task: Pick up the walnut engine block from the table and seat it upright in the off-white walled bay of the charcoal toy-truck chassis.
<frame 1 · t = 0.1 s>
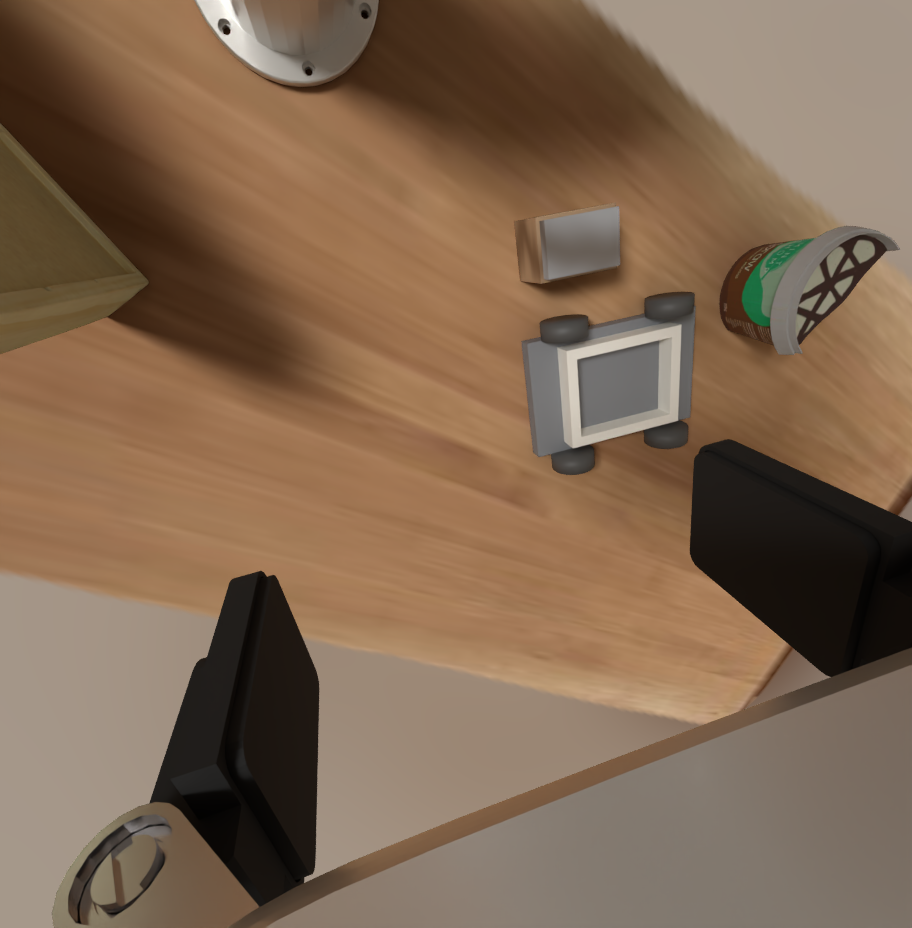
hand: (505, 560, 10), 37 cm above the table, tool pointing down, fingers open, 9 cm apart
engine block: (552, 244, 44), on the table
chassis: (607, 380, 51), on the table
food container: (743, 274, 50), on the table
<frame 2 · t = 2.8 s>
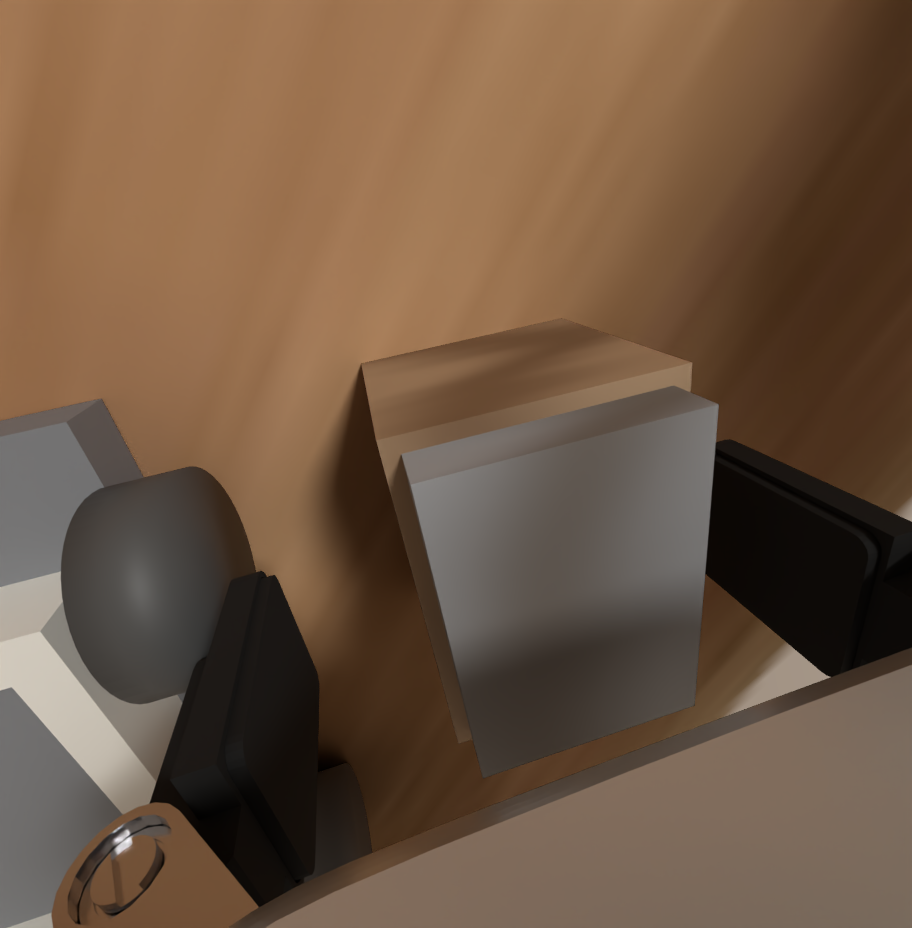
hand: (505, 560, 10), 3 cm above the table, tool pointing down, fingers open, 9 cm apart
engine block: (484, 466, 13), on the table
chassis: (37, 747, 14), on the table
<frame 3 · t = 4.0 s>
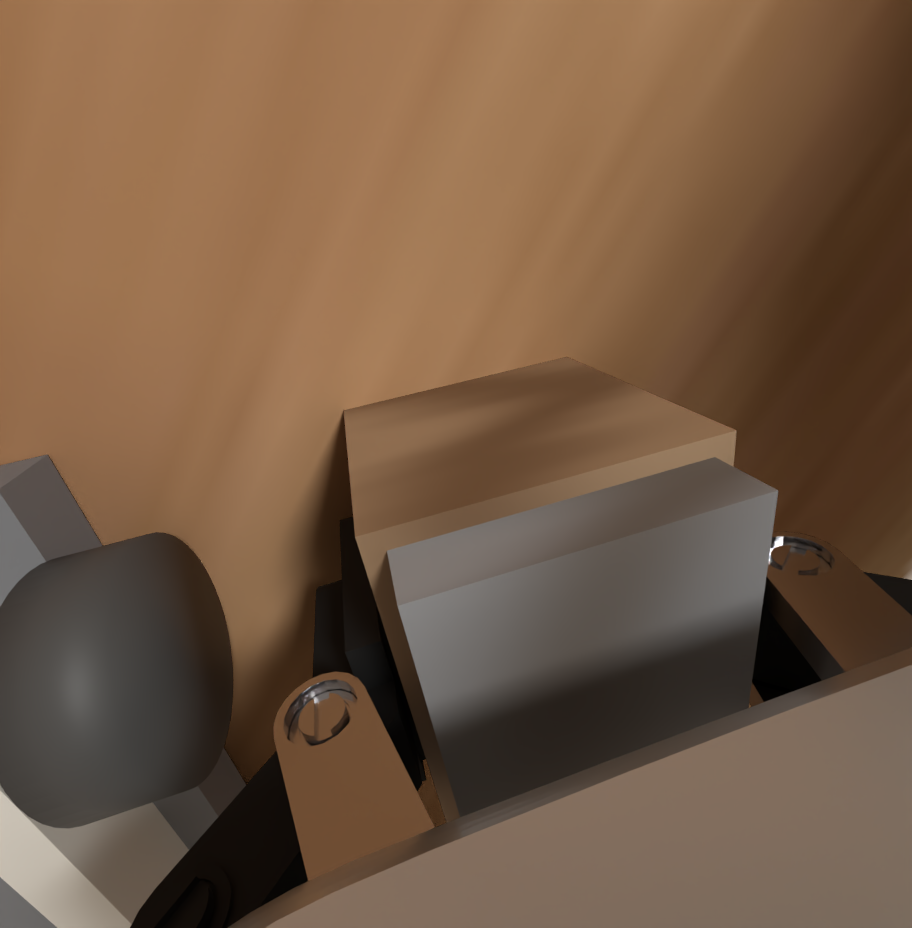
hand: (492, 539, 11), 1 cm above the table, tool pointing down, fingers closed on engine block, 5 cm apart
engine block: (482, 518, 12), on the table, touching gripper
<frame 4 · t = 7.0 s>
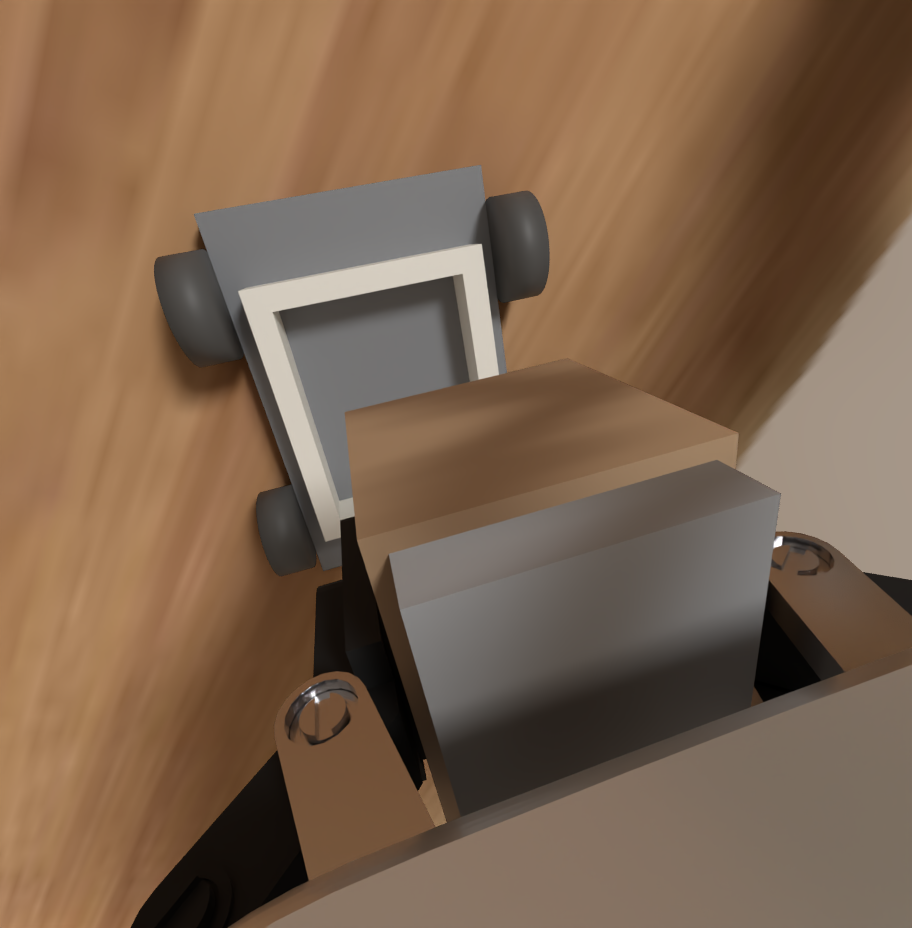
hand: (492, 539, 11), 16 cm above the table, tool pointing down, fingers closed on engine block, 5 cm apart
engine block: (483, 520, 12), point 15 cm above the table, touching gripper
chassis: (388, 386, 25), on the table
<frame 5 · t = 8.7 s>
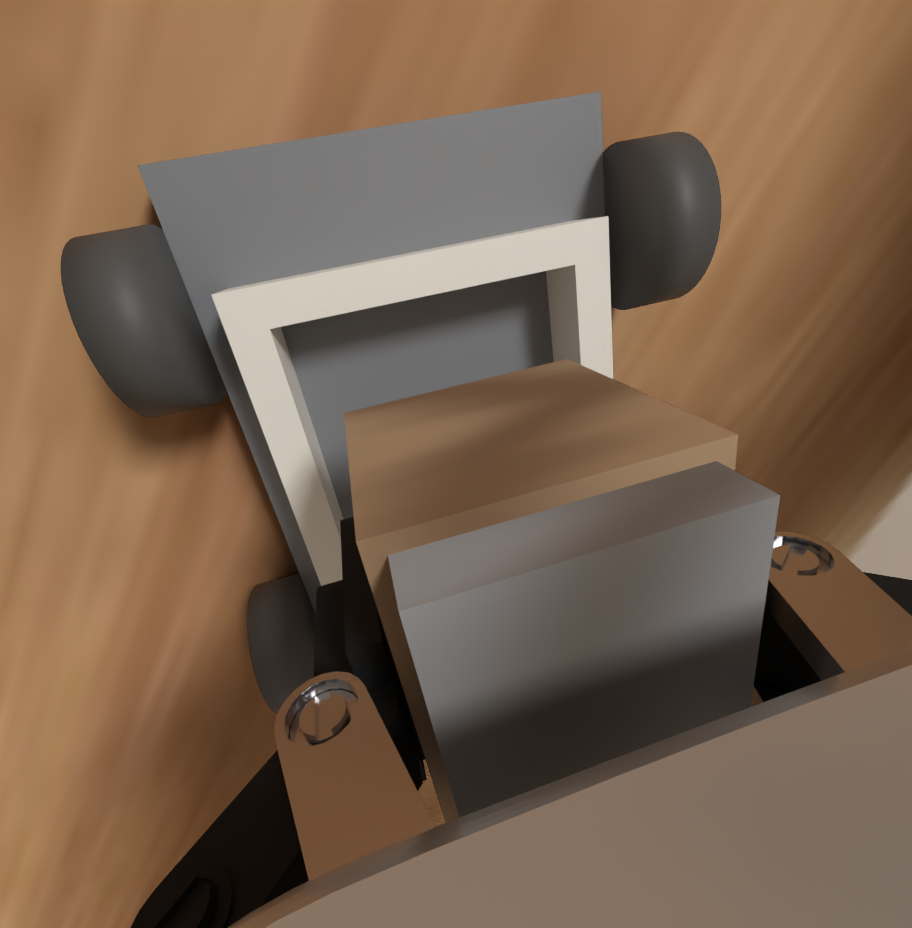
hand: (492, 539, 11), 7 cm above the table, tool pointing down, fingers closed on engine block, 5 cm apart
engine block: (483, 521, 12), point 6 cm above the table, touching gripper
chassis: (438, 430, 17), on the table
when the fingers open (4 cm above the table, at t = 10.2 s): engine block drops 1 cm, resting on chassis.
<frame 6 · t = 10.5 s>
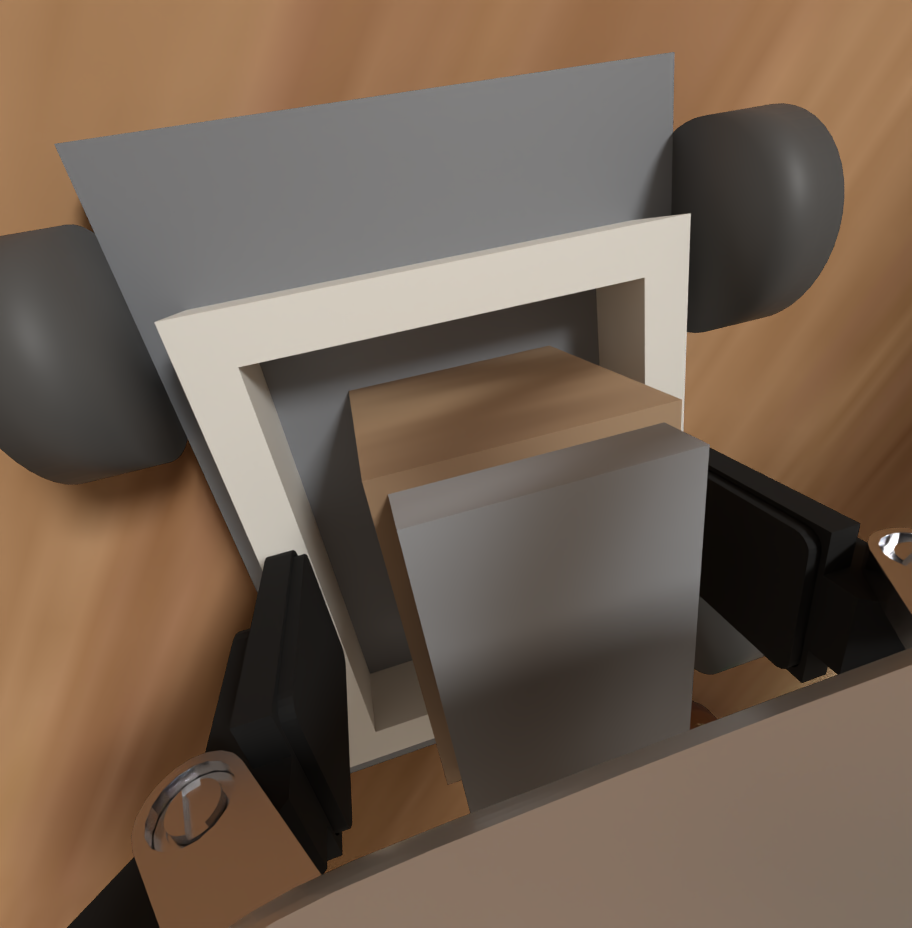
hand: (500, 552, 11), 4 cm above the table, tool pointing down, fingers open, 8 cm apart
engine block: (473, 493, 13), point 1 cm above the table, touching chassis
chassis: (455, 475, 14), on the table
food container: (669, 728, 22), on the table
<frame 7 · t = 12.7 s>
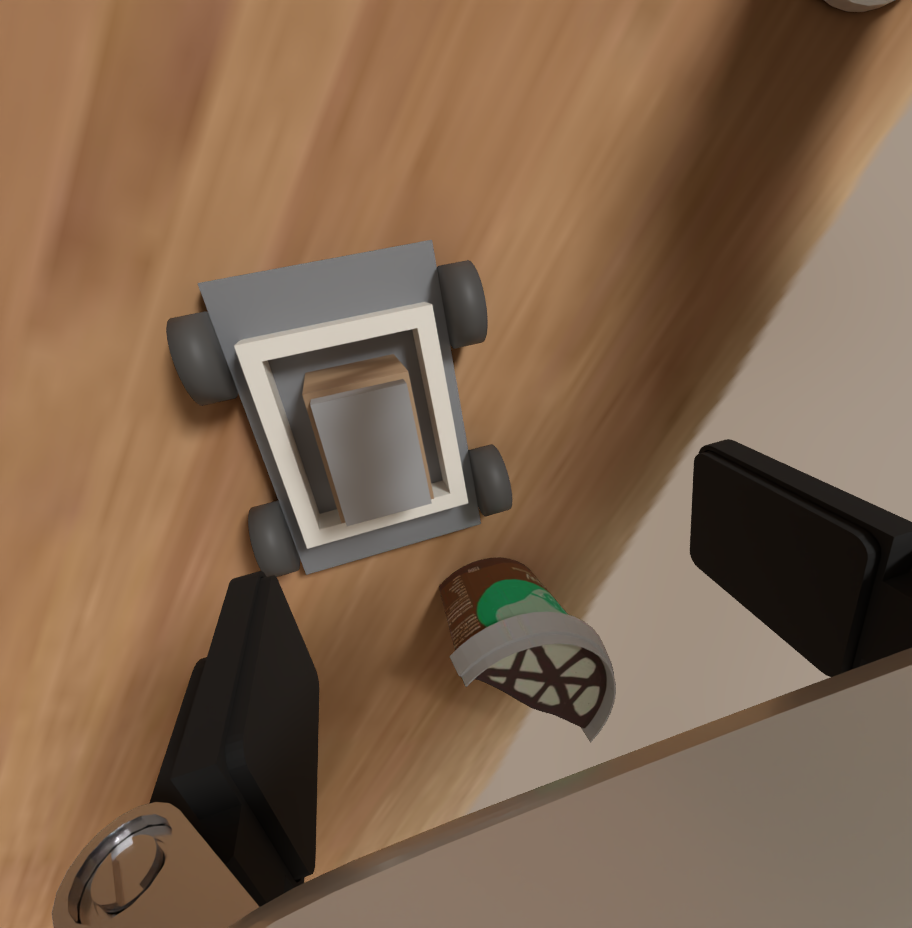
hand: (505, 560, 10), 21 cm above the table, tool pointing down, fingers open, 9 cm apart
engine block: (365, 421, 28), point 1 cm above the table, touching chassis
chassis: (360, 416, 30), on the table
food container: (507, 580, 38), on the table
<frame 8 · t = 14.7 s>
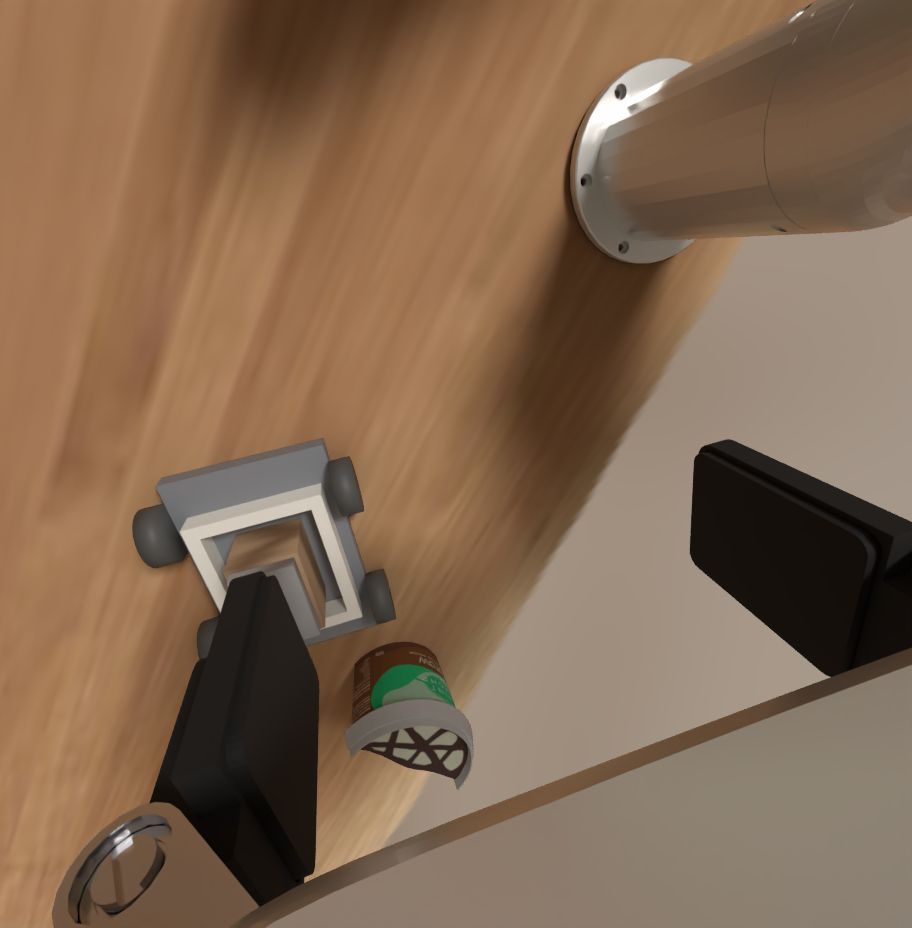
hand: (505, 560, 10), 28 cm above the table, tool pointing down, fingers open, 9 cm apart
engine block: (282, 561, 39), point 1 cm above the table, touching chassis
chassis: (283, 553, 40), on the table
food container: (411, 657, 48), on the table
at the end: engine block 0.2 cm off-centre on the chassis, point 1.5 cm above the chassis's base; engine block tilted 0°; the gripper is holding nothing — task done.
